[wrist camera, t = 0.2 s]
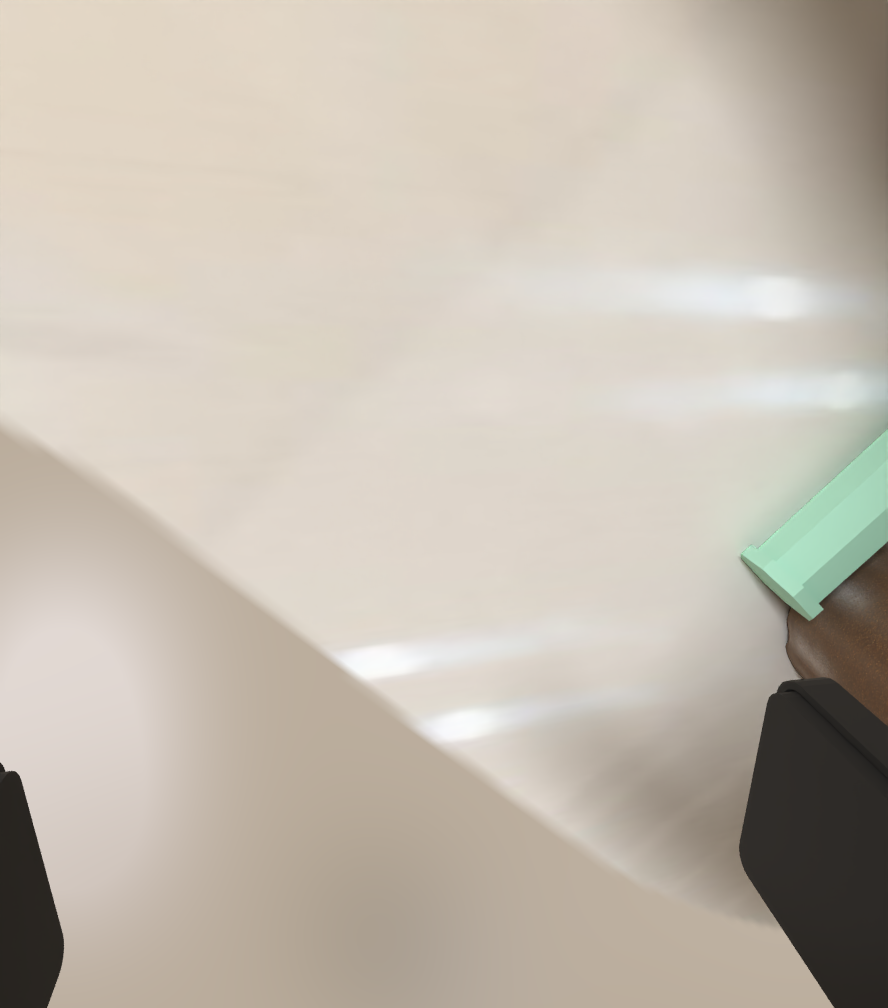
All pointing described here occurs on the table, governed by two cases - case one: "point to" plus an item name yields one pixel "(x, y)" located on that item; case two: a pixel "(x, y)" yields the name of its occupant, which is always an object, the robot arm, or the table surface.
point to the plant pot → (849, 636)
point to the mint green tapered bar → (828, 534)
